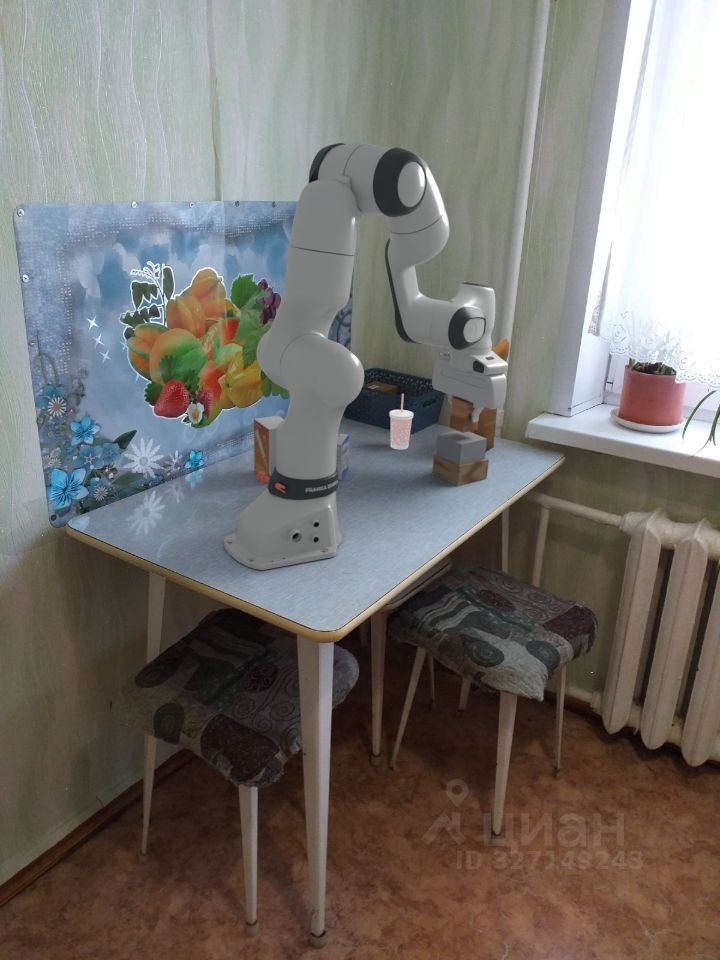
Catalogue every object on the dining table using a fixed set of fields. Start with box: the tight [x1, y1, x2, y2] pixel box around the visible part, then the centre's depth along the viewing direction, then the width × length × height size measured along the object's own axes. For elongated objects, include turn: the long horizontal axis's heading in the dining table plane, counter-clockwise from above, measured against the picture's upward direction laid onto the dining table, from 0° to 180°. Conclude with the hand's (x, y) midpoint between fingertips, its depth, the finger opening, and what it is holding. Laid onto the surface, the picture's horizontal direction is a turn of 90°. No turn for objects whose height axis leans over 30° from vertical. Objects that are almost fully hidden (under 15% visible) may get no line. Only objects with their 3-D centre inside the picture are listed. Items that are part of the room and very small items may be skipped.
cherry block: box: [449, 397, 478, 433], centre depth 172 cm, size 4×4×7 cm
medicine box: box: [336, 433, 350, 481], centre depth 175 cm, size 8×4×9 cm, turn 168°
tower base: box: [431, 453, 490, 487], centre depth 177 cm, size 9×9×5 cm
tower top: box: [435, 430, 487, 465], centre depth 176 cm, size 8×8×5 cm
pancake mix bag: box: [470, 338, 510, 452], centre depth 190 cm, size 7×19×28 cm, turn 147°
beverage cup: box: [389, 393, 415, 450], centre depth 193 cm, size 6×6×14 cm
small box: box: [253, 415, 285, 477], centre depth 171 cm, size 8×6×13 cm
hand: (464, 417), depth 173 cm, fingers closed on cherry block, 4 cm apart
